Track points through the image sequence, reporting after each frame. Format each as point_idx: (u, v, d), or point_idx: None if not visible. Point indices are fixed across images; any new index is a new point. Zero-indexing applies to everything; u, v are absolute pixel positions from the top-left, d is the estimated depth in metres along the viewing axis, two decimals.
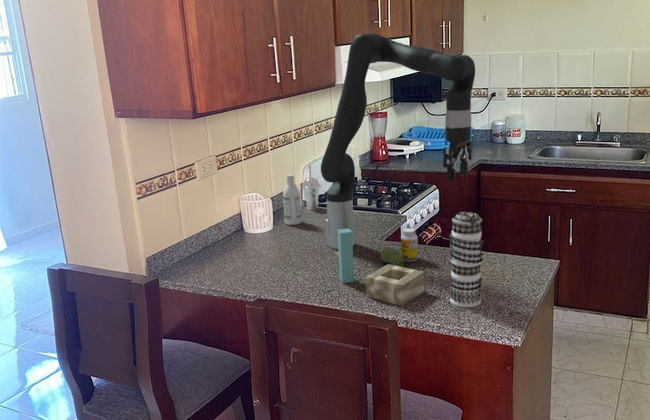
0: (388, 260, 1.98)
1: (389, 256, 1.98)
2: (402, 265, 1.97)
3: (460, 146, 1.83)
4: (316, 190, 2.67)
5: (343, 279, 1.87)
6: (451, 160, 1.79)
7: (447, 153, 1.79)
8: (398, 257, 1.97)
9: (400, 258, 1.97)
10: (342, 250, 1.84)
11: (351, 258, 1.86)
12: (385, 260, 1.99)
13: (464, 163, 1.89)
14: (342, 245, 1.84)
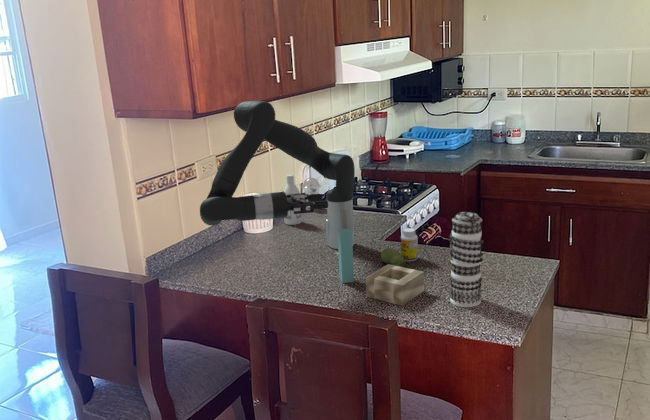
0: (389, 260, 1.98)
1: (390, 256, 1.98)
2: (403, 265, 1.97)
3: None
4: (316, 190, 2.67)
5: (343, 279, 1.87)
6: None
7: None
8: (399, 257, 1.96)
9: (401, 258, 1.96)
10: (342, 250, 1.84)
11: (351, 258, 1.86)
12: (386, 260, 1.99)
13: None
14: (342, 245, 1.84)
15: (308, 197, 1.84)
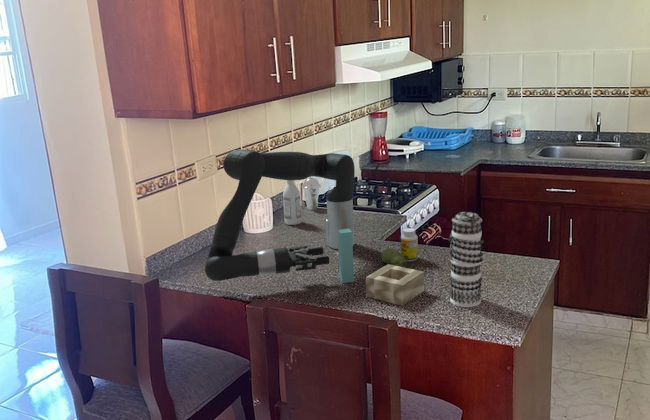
0: (390, 261, 1.97)
1: (391, 257, 1.97)
2: (404, 266, 1.96)
3: None
4: (316, 190, 2.67)
5: (343, 279, 1.87)
6: None
7: None
8: (400, 258, 1.96)
9: (402, 259, 1.96)
10: (342, 250, 1.84)
11: (351, 258, 1.86)
12: (387, 261, 1.98)
13: None
14: (342, 245, 1.84)
15: (310, 251, 1.89)
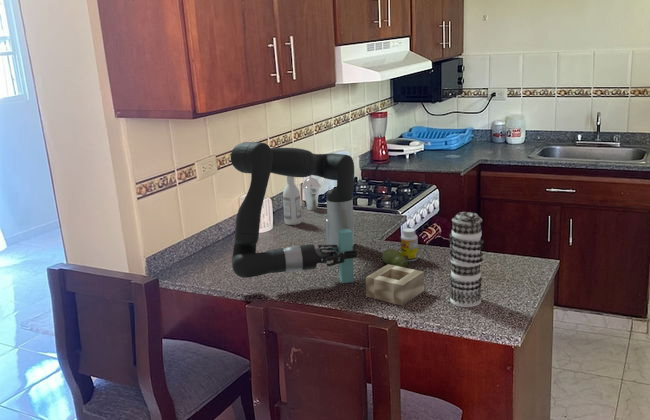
0: (390, 261, 1.97)
1: (391, 257, 1.97)
2: (404, 266, 1.96)
3: None
4: (316, 190, 2.67)
5: (343, 279, 1.87)
6: None
7: None
8: (400, 258, 1.95)
9: (402, 259, 1.95)
10: (342, 250, 1.84)
11: (351, 258, 1.86)
12: (387, 261, 1.98)
13: None
14: (342, 245, 1.84)
15: None
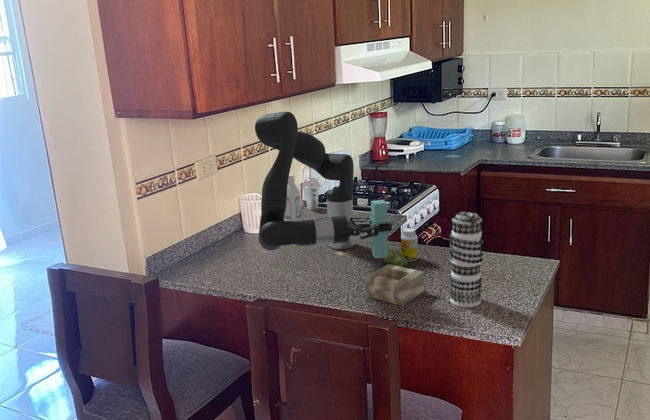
0: (391, 262, 1.97)
1: (392, 257, 1.96)
2: (405, 267, 1.96)
3: None
4: (316, 190, 2.67)
5: (376, 254, 1.75)
6: None
7: None
8: (401, 259, 1.95)
9: (403, 260, 1.95)
10: (376, 222, 1.72)
11: (385, 231, 1.74)
12: (388, 262, 1.98)
13: None
14: (376, 217, 1.72)
15: None
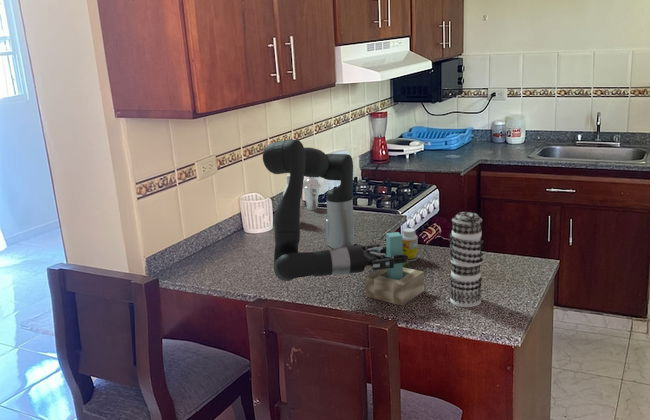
0: None
1: None
2: (406, 267, 1.95)
3: None
4: (316, 190, 2.67)
5: None
6: None
7: None
8: None
9: None
10: (391, 255, 1.72)
11: (401, 264, 1.74)
12: None
13: None
14: (391, 250, 1.72)
15: (384, 249, 1.78)
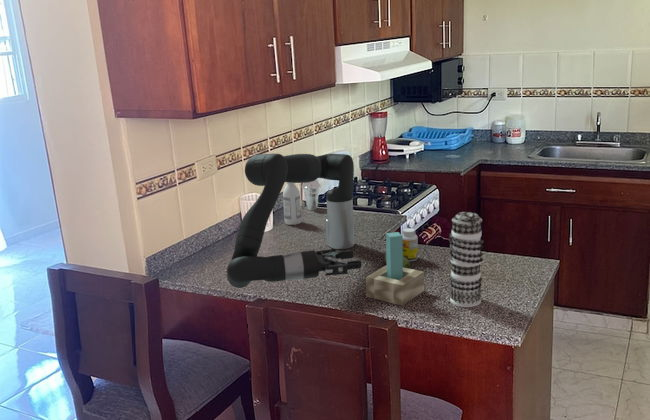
0: None
1: None
2: (407, 267, 1.95)
3: None
4: (316, 190, 2.67)
5: None
6: None
7: None
8: (403, 259, 1.94)
9: (405, 260, 1.94)
10: (391, 255, 1.72)
11: (401, 264, 1.74)
12: None
13: None
14: (391, 250, 1.72)
15: (339, 254, 1.75)
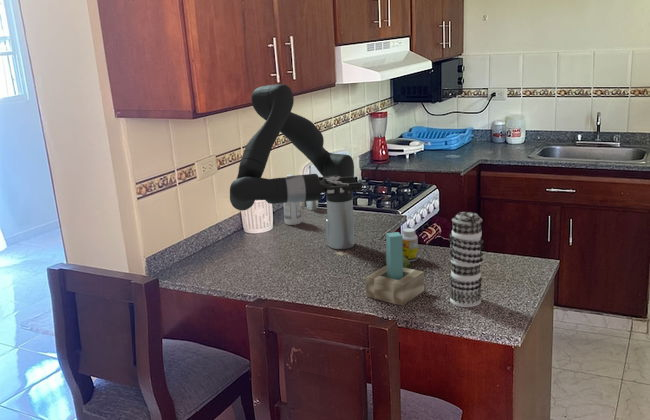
0: None
1: None
2: None
3: None
4: None
5: None
6: None
7: None
8: (404, 260, 1.94)
9: (406, 261, 1.94)
10: (391, 255, 1.72)
11: (401, 264, 1.74)
12: None
13: None
14: (391, 250, 1.72)
15: (340, 180, 1.77)
